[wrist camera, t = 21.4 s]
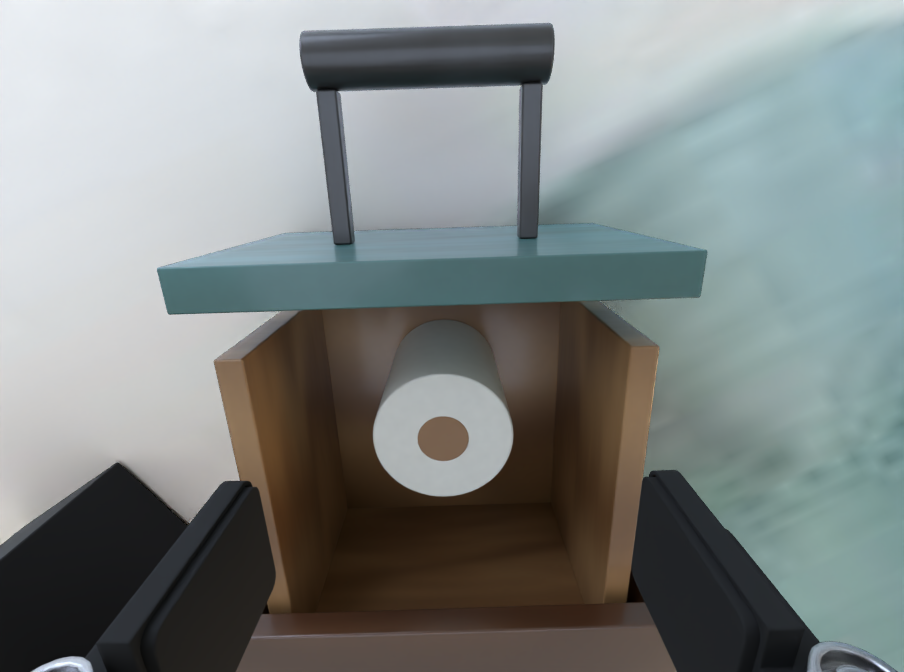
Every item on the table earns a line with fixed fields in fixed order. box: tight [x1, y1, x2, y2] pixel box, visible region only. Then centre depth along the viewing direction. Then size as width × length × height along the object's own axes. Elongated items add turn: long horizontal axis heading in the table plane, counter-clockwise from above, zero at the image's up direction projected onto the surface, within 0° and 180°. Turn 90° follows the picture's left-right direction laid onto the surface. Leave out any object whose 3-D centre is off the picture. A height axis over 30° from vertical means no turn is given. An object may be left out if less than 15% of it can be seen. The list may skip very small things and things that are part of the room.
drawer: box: [157, 23, 707, 614], centre depth 16 cm, size 20×14×9 cm, turn 2°
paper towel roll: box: [373, 320, 513, 497], centre depth 17 cm, size 5×5×6 cm
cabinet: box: [236, 563, 677, 672], centre depth 21 cm, size 16×15×11 cm
